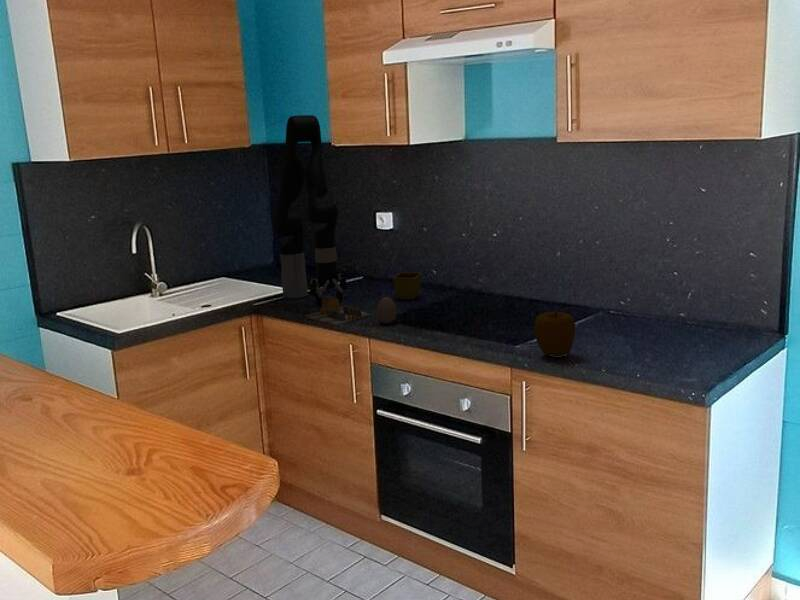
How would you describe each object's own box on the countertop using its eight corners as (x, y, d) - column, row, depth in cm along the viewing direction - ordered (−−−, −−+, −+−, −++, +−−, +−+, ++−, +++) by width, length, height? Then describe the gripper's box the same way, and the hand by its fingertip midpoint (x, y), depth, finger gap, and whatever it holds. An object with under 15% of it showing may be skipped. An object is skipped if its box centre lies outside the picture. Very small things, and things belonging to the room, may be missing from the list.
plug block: (320, 312, 286) (319, 297, 285) (329, 310, 288) (328, 295, 287) (330, 315, 281) (329, 299, 280) (339, 312, 284) (338, 297, 282)
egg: (373, 324, 268) (371, 298, 266) (385, 320, 273) (384, 293, 271) (389, 327, 264) (387, 300, 262) (401, 322, 269) (399, 295, 267)
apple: (531, 360, 222) (530, 315, 219) (540, 349, 231) (540, 305, 229) (571, 363, 217) (570, 317, 215) (579, 352, 227) (579, 307, 224)
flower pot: (416, 301, 297) (414, 277, 295) (393, 301, 300) (392, 277, 298) (423, 296, 305) (421, 272, 303) (401, 295, 308) (399, 272, 306)
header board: (305, 316, 283) (304, 304, 282) (342, 308, 293) (341, 295, 292) (335, 325, 269) (334, 312, 268) (373, 316, 279) (372, 303, 278)
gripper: (336, 255, 288) (339, 299, 291) (303, 261, 279) (306, 307, 283) (349, 257, 282) (352, 302, 286) (315, 264, 273) (318, 310, 277)
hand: (329, 304), depth 284 cm, fingers open, 8 cm apart
